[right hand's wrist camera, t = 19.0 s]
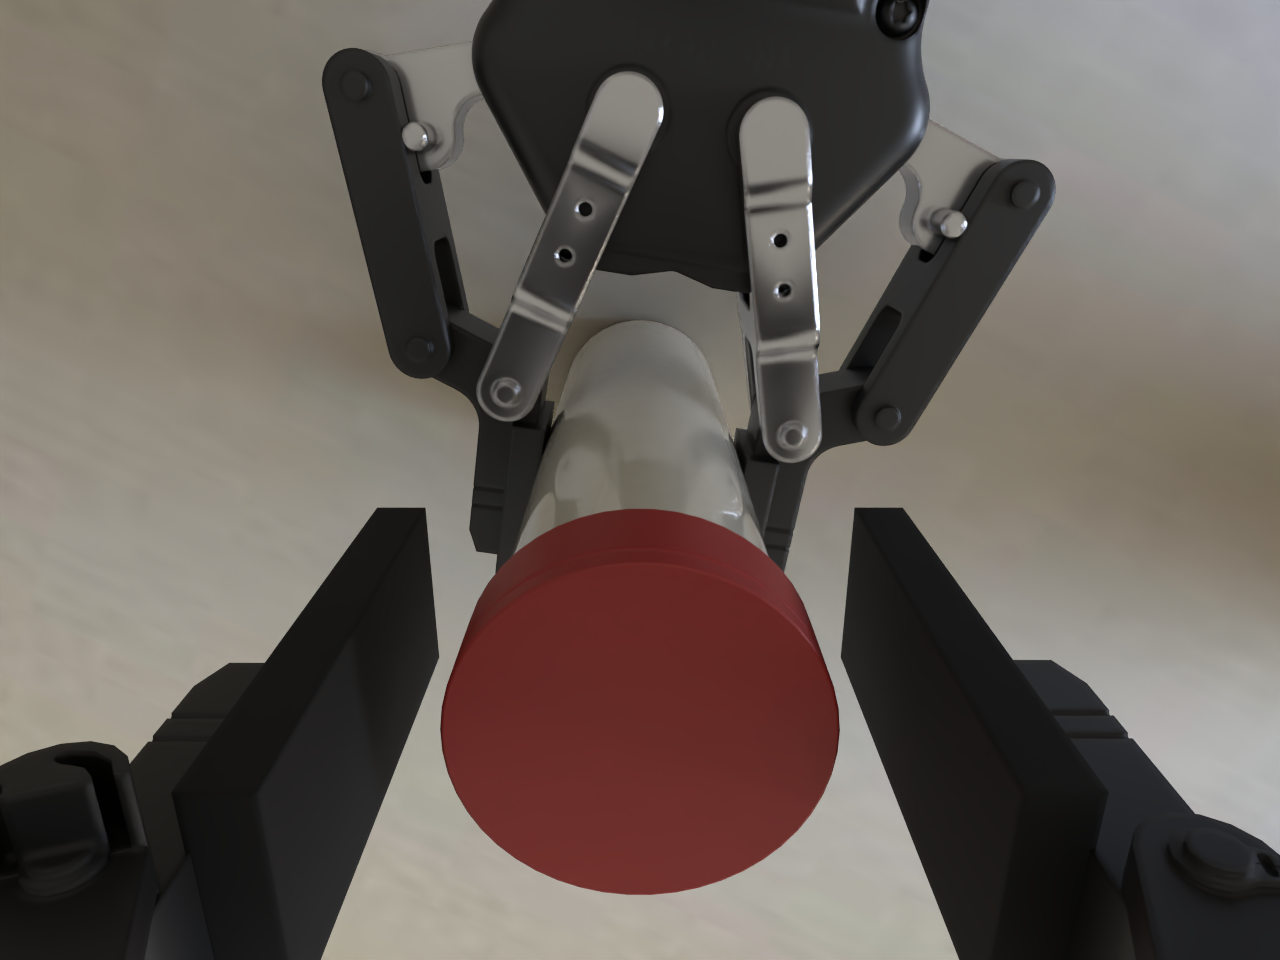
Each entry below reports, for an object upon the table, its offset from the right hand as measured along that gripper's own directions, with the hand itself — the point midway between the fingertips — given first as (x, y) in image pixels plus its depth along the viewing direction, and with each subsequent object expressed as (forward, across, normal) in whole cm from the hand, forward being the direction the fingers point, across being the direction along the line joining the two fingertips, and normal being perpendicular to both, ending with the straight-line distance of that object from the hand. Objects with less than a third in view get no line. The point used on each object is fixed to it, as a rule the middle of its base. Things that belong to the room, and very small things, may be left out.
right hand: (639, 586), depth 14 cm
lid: (-4, 0, 0) cm, 4 cm away
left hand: (+6, 0, -3) cm, 6 cm away
